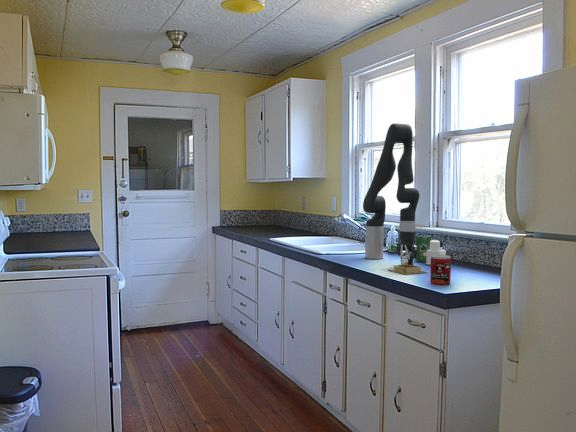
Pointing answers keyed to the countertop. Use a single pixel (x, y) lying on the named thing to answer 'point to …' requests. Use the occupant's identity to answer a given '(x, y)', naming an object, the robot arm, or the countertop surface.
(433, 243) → the medicine bottle
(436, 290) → the countertop surface
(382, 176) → the robot arm
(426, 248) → the coffee box
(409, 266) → the collar
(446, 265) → the canned food
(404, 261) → the cylinder
